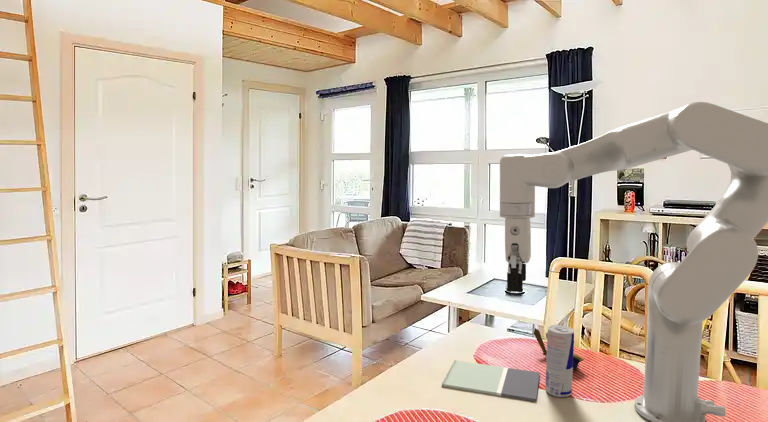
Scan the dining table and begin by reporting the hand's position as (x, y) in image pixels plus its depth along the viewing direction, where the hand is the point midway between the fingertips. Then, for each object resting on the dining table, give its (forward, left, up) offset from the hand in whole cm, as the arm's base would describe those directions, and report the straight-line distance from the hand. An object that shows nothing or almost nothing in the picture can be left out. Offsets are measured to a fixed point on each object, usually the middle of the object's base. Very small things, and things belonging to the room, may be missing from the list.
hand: (516, 285), depth 110 cm
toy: (-9, -19, -25) cm, 33 cm away
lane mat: (+5, -2, -24) cm, 25 cm away
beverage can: (-10, -1, -24) cm, 26 cm away
